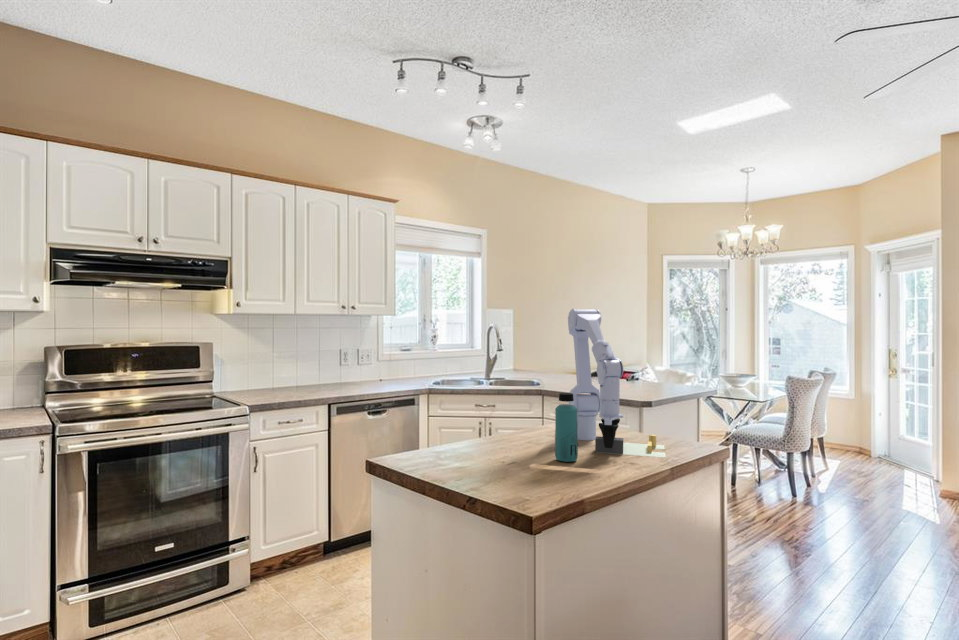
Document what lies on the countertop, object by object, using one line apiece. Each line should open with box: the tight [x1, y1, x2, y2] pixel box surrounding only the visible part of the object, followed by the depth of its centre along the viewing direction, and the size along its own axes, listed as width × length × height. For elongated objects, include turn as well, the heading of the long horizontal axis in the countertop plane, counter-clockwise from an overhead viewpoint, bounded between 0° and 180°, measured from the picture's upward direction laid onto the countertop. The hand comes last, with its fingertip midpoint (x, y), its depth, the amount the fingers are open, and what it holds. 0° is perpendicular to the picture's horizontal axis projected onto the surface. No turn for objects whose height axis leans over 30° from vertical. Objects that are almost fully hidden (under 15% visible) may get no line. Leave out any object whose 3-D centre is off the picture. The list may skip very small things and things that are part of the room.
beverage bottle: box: [554, 392, 579, 462], centre depth 156 cm, size 6×7×20 cm
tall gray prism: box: [594, 435, 624, 455], centre depth 166 cm, size 8×4×4 cm, turn 73°
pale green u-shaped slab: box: [594, 434, 667, 459], centre depth 171 cm, size 20×16×4 cm
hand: (609, 445), depth 166 cm, fingers open, 7 cm apart
